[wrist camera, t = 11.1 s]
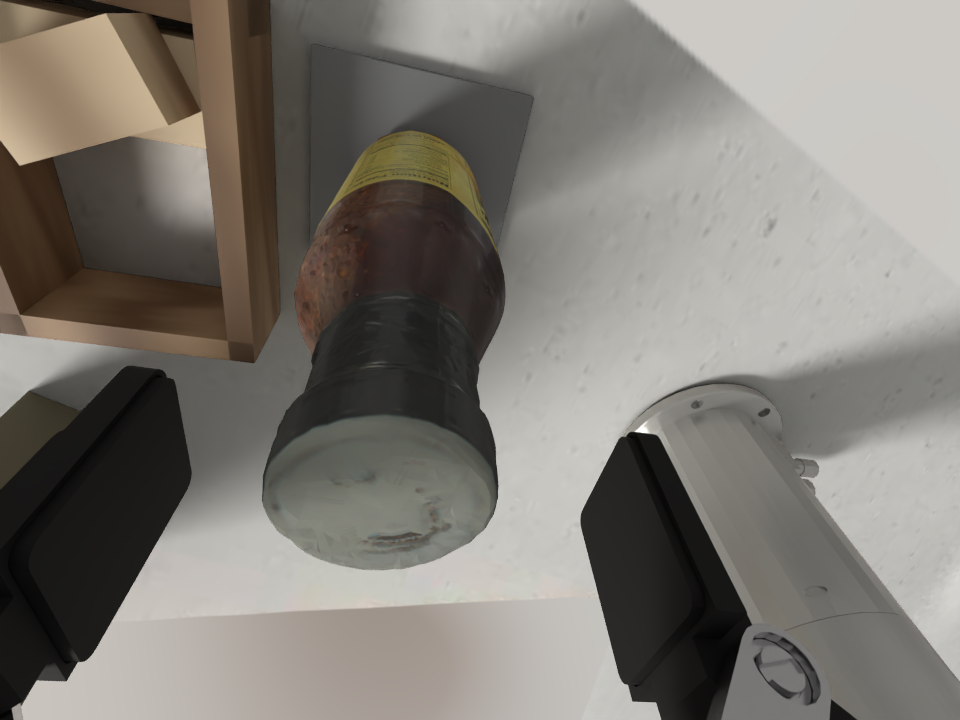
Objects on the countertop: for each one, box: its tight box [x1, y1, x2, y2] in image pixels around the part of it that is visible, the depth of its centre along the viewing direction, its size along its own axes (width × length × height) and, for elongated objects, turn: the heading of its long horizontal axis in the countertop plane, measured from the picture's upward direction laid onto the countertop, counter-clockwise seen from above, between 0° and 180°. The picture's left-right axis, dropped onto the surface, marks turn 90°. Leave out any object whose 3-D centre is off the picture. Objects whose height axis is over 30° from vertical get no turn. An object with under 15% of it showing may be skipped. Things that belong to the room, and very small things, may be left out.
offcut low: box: [0, 0, 206, 149], centre depth 20 cm, size 7×4×3 cm, turn 79°
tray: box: [0, 0, 280, 363], centre depth 21 cm, size 11×15×5 cm
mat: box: [310, 44, 534, 249], centre depth 24 cm, size 10×10×1 cm
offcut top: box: [0, 13, 201, 165], centre depth 18 cm, size 6×3×3 cm, turn 102°
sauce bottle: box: [262, 131, 505, 570], centre depth 16 cm, size 6×6×20 cm
